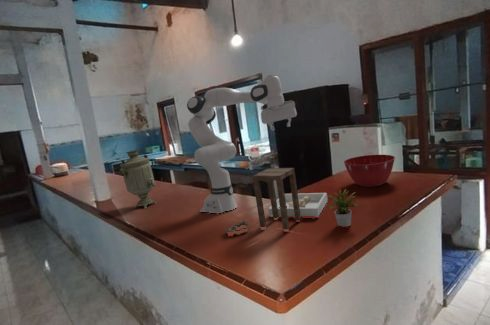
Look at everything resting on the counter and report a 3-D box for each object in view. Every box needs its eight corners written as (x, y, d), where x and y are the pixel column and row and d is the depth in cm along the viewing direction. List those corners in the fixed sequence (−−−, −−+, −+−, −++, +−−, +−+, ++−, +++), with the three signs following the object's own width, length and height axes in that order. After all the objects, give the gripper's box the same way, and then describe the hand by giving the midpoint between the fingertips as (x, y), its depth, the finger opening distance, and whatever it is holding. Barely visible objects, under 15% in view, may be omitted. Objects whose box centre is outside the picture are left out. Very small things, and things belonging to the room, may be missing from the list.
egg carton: (247, 228, 148) (246, 220, 148) (250, 233, 141) (249, 225, 140) (225, 232, 146) (224, 224, 146) (227, 238, 139) (226, 230, 139)
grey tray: (269, 217, 156) (268, 208, 155) (283, 202, 177) (282, 193, 176) (318, 218, 145) (317, 208, 144) (327, 201, 166) (326, 192, 165)
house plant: (337, 236, 124) (332, 197, 121) (319, 225, 137) (315, 190, 134) (367, 227, 127) (363, 189, 124) (347, 217, 140) (343, 183, 138)
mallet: (303, 201, 170) (302, 194, 169) (312, 202, 166) (312, 195, 165) (289, 210, 160) (288, 202, 159) (299, 211, 155) (298, 203, 155)
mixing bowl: (336, 186, 192) (333, 162, 189) (369, 175, 203) (367, 152, 201) (372, 194, 167) (369, 166, 164) (408, 181, 178) (406, 155, 175)
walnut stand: (275, 218, 153) (268, 168, 149) (301, 221, 145) (294, 167, 140) (260, 230, 142) (252, 176, 138) (287, 233, 134) (279, 175, 129)
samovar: (132, 216, 197) (118, 155, 190) (119, 210, 217) (106, 155, 210) (174, 202, 215) (162, 146, 208) (158, 197, 235) (147, 146, 229)
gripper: (296, 100, 169) (300, 124, 169) (262, 109, 179) (266, 132, 178) (292, 98, 164) (296, 124, 163) (258, 107, 173) (262, 131, 173)
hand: (280, 128), depth 171 cm, fingers open, 8 cm apart
